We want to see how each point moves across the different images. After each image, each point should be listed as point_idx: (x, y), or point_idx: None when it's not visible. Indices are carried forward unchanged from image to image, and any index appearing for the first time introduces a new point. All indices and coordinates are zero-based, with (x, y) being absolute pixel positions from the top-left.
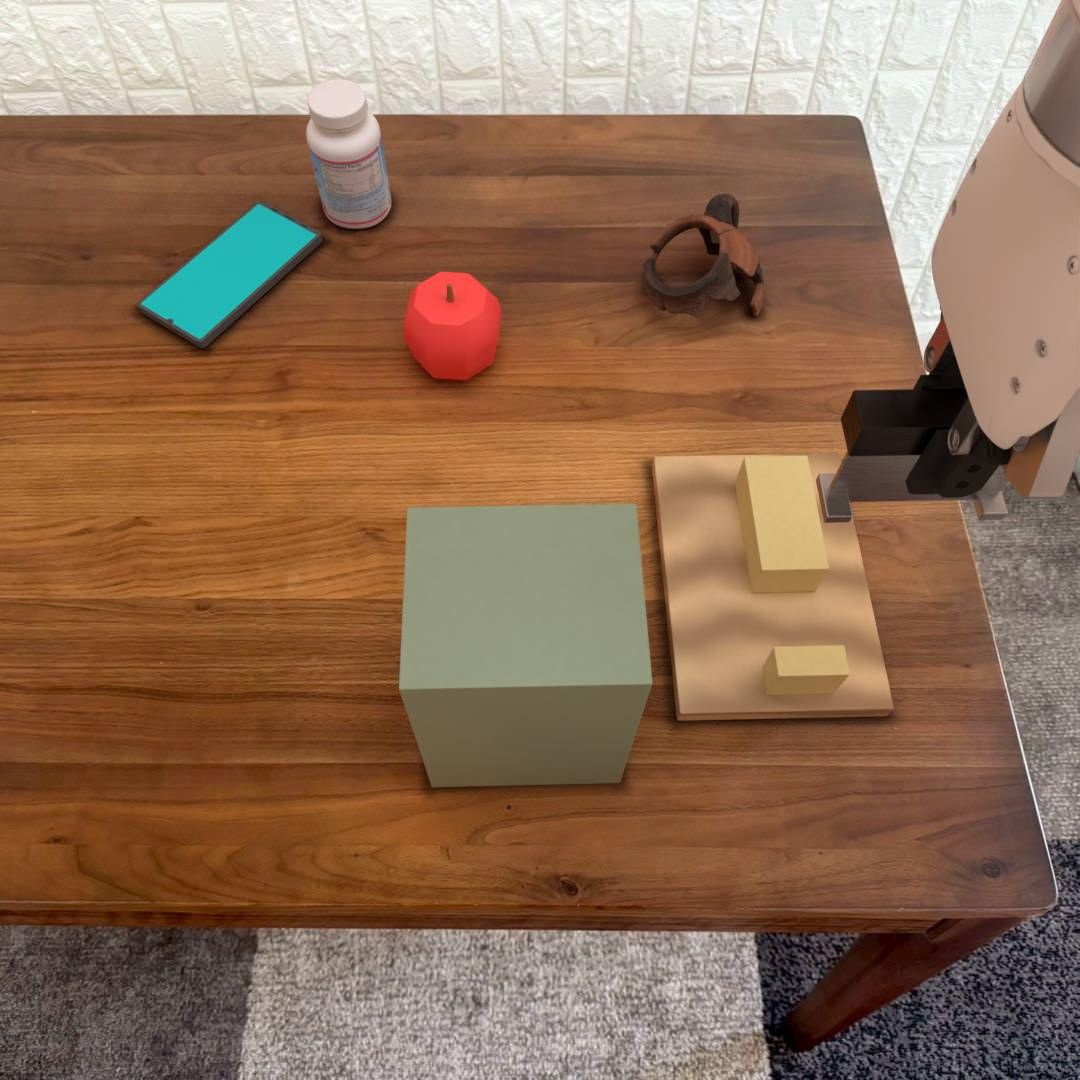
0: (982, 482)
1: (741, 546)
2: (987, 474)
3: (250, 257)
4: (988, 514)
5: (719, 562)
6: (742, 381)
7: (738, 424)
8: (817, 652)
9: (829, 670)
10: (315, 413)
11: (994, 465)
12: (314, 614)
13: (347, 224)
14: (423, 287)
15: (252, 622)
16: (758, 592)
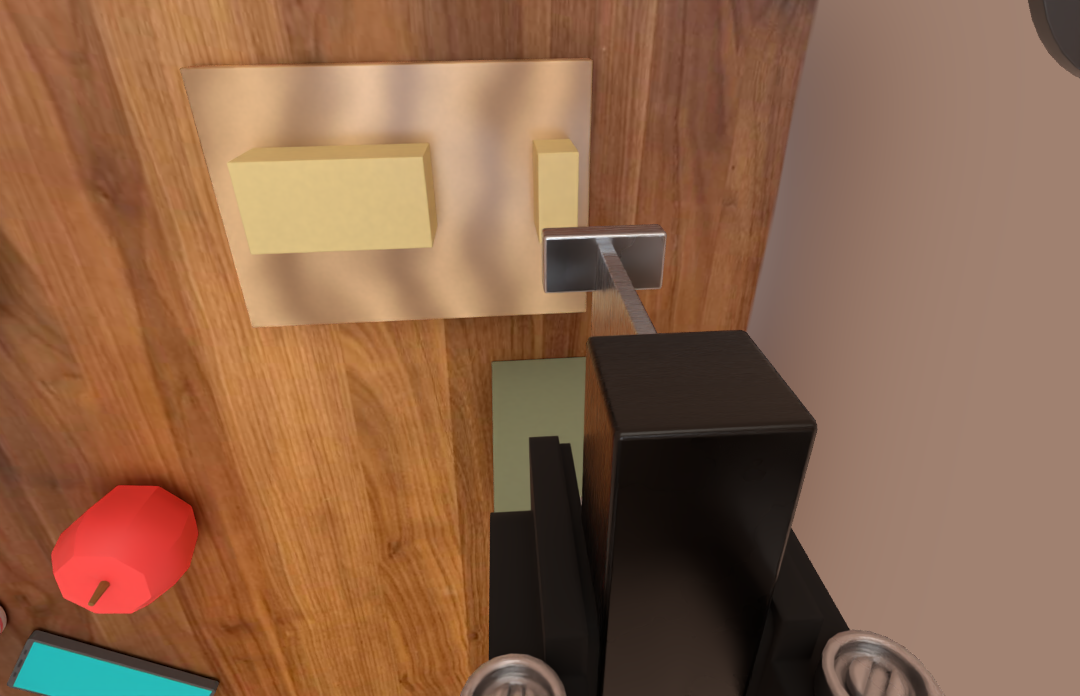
0: (792, 531)
1: None
2: (808, 562)
3: (93, 679)
4: (661, 274)
5: (398, 260)
6: (72, 190)
7: (158, 203)
8: (547, 190)
9: (572, 178)
10: (268, 602)
11: (832, 602)
12: (477, 575)
13: (2, 620)
14: (98, 609)
15: (486, 608)
16: (436, 218)
